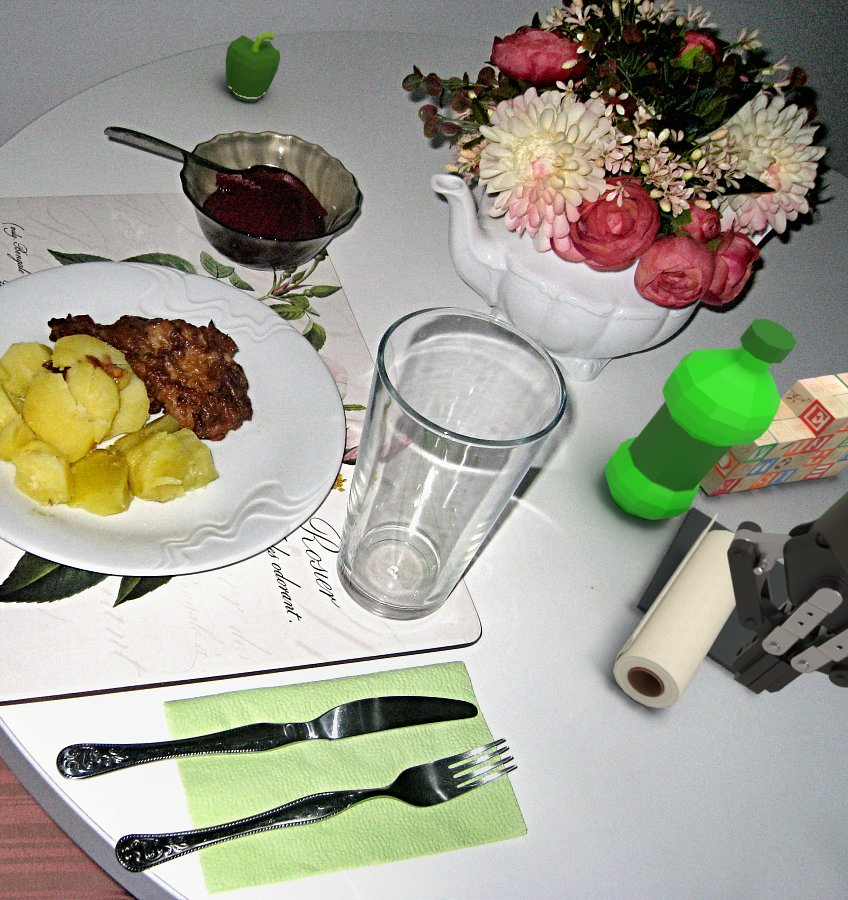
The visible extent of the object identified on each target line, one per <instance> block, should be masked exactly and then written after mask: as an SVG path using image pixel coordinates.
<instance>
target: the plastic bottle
mask: <svg viewBox="0 0 848 900" xmlns="http://www.w3.org/2000/svg"><path fill="white" fill-rule="evenodd" d="M739 341H740V346H739V347H738V348H733V347H732V348H713V349H711V348H710V349H695V350H693V351H690V352H689V353H687V354H686V355H683V356H682V358H681V359H680V361H679V362H678V363H677V364H676V366H675V367H674V369H673V370H672V372H671V373H670V374H669V376H668V377H667V379H665V382H664V385H663V387H662V390H661V392H662V395H663V398H664V402H663V403H662V405H661V406H659V408H658V410H657V411H656V412H655V414H654V415H653V416H652V417H651V418H650V420H649V421H648V423H646V425H645V426H644V427H643V429H642V430H641V431H640V432H639V434H638V435H637V436H634V437H632V438H629V439H626V440H624V441H623V442H621V443H620V444H619V445H618V446H617V448H616V449H615V451H613V454H612V455H611V456H610V457H609V459H608V461H607V462H606V463H605V469H604V474H605V478H606V482H607V485H608V488H609V491H610V495H611V496H612V497H613V500H614V502H615V503H616V504H617V505H618V506H619V507H620V508H621V509H622V510H623V511H624V512H625V513H627V514H630V515H632V516H635V517H637V518H641V519H647V520H650V521H654V520H662V519H672V518H676V517H679V516H681V515H684V514H685V513H686V512H687V511H688V510H689V508H691V506H692V504H693V502H694V500H695V499H696V497H697V495H698V493H699V490H700V487H701V485H700V483H701V480H702V479H703V478H704V477H705V476H706V475H707V474H708V473H709V472H710V470H711V469H712V468H713V467H714V466H715V465H716V464H717V463H718V462H719V461H720V460H721V458H722V457H723V456H724V455H725V454H726V453H727V452H728V451H729V450H730V449H731V448H732V446H733V445H743V444H750V443H752V442H753V441H755V440H757V439H758V438H760V437H761V436H762V435H763V434H764V433H765V432H766V431H767V429H768V428H769V427H770V425H771V423H772V421H773V419H774V417H775V415H776V413H777V411H778V408H779V405H780V402H781V399H780V398H781V396H780V394H779V391H778V388H777V384H776V382H775V380H774V378H773V375H772V373H771V371H770V369H769V368H770V366H771V365H772V364H781V363H782V362H783V361H784V360H785V359H786V358H787V357H788V355H790V353H791V352H792V351H793V350H794V349H795V346H796V344H797V343H798V342H797V341H796V339H795V337H794V335H793V334H792V332H791V331H789V330H788V329H787V328H786V327H785V326H783V325H781V324H780V323H778V322H776V321H774V320H773V321H772V320H770V319H767V318H755V319H754V320H753V321H752V322H751V323H750V324H749V326H748V327H747V328H746V329H745V331H744V332H743V333H742V335H740V338H739Z"/></svg>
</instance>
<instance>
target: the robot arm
mask: <svg viewBox="0 0 848 900" xmlns="http://www.w3.org/2000/svg"><path fill="white" fill-rule="evenodd" d="M734 533H735V535H734V538H733V540H732V542H731V544H730V547H729V549H728V551H727V557H728V563H729V569H730V574H731V580H732V585H733V591H734V597H735V602H736V608H737V613H738V619H739V623H740V624H741V625H742V626H743V627H744V628H746V629H748V630H752V631H755V632H756V633H755V634H754V635H753V636H751V637H750V638H749V639H748V640H747V641H745V643H743V644H742V645H741V646H740V647H739V649H738V652H737V654H736V657H735V659H734V662H733V665H732V669H734V670H735V671H736V674H734V677H733V680H734V681H735V682H737V683H738V684H740V685H741V686H743V687H744V688H746V689H748V690H749V691H752V692H753V693H754V694H756V695H760V694H761V693H762V692H764V691H766V692H768V693H770V694H772V693H773V694H774V693H778V692H780V691H782V690H783V689H784V688H785V687H787V686H788V685H789V684H790V683H792V682H794V681H795V680H797V679H798V678H799V677H800V676H801V675H803V674H811V673H814V672H818V673H820V674H824V675H827V676H828V679H829V681H830V682H831V683H832V684H833V685H835V686H838V687H839V688H848V490H846V491H845V492H844V494H843V495H842V496H841V497H839V499H837V500H836V501H835V502H834V503H833V504H832V505H831V506H830V507H829V508H827V510H826V511H824V513H822V515H821V516H820V517H818V518H816V519H814V520H811V521H809V522H808V521H807V522H803V523H800V524H797V525H796V526H794V527H792V529H791V530H789V532H788V533H772V532H763V529H762V527H761V526H760V525H759V524H758V523H756V522H754V521H749V520H745V521H742V522H740V523H739V524H738V526H737V528H736V531H735V532H734ZM779 559H782V560H783V564H784V569H785V580H786V591H787V596H788V599H787V600H786V601H785V602H784V603H783V604H782V605H781V606H780V607H779V608H777V607H776V606H775V605H774V604H773V603H772V602H771V601H772V591H771V585H770V578H769V571H771V570H772V569H773V567H774V564H775V561H776V560H777V561H778V560H779Z"/></svg>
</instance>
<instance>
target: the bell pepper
mask: <svg viewBox="0 0 848 900" xmlns="http://www.w3.org/2000/svg"><path fill="white" fill-rule="evenodd" d="M274 39H275V34H274V33H272V32H262V33H261V34H259V35H258V36H257V37H256V38H255V40H252V39H251V38H249V37H248V36H246V35H243V34H242V35H241V36H239V37H238V38H236V39H235V40H232V41H231V42H230V43H229V45H228V47H227V49H226V55H225V80H226V81H225V82H226V86H227V85H228V86H230V87H232V89H230V88H228V91H229V92H231V93H233V95H234V97H236V98H237V100H240V101H244V102H249V103H255V102H257V101H259V100H260V99H261V98H262V97H264V95H263V93H264V92H266V93H268V91H269V89H270V87H271V85H272V83H273V81H274V79H275V76H276V74H277V72H278V69H279V65H280V62H281V54H280V50H279V49H276V48H275V47H274V45H273V43H272V42H271V41H273V40H274ZM228 86H227V87H228ZM267 90H268V91H267ZM233 91H234V92H235V93H237V94H238V95H242V96H246V97H259V96H261V95H262V96H261V97H260V98H257V99H246V98H243V97H240V96H238V95H236V94H235V93H234V92H233Z"/></svg>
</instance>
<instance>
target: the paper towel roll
mask: <svg viewBox="0 0 848 900" xmlns="http://www.w3.org/2000/svg"><path fill="white" fill-rule="evenodd" d="M718 516H719V512H716V513H715V515H714V517H713V518H712V521H711V522H710V524H709V525H708V527H707V528H706V529H704V530H703V531H702V533H701V534H700V536H699V537H698V538H697V540H696V541H695V543H694V544H693V546H692V547H691V549H690V550H689V552H688V553H687V555H686V556H685V557H684V559H683V560H682V562H681V563H680V565H679V566H678V568H677V569H676V571H675V572H674V573H673V575H672V576H671V578H670V579H669V581H668V582H667V584H666V585H665V587H664V588H663V590H662V591H661V592H660V594H659V595H658V597H657V598H656V600H655V601H654V603H653V604H652V606H651V607H650V608H649V610H648V611H647V613H645V614H644V615H643V617H642V618H641V620H640V621H639V623H638V625H637V626H636V627H635V629H634V630H633V631H632V633H631V635H630V636H629V637H628V639H627V640H626V642H625V643H624V645H623V646H622V648H621V649H620V650H619V652H618V653H617V657H616V659H615V662H614V667H613V670H612V671H613V675H614V678H615V681H616V683H617V684H618V685H619V687H620V688H621V689H622V691H623V692H624V693H625V694H627V695H628V696H629V697H630V698H631V699H633V701H636V702H638V703H640V704H642V705H644V706H647V707H650V708H656V709H667V708H671V707H673V706H674V705H675V704H677V703H678V702H679V701H680V700H681V698H682V697H683V695H684V693H685V691H686V690H687V688H688V686H689V685H690V683H691V681H692V680H693V678H694V676H695V675H696V673H697V671H698V669H699V668H700V666H701V664H702V663H703V661H704V660H705V658H706V656H707V655H706V654H707V653H708V651H709V649H710V648H711V646H712V644H713V643H714V641H715V639H716V638H717V636H718V634H719V633H720V631H721V629H722V627H723V626H724V624H725V622H726V621H727V619H728V617H729V616H730V614H731V612H732V611H733V609H734V607H735V606H736V602H735V597H734V591H733V585H732V580H731V574H730V569H729V563H728V557H727V551H728V549H729V547H730V544H731V542H732V540H733V538H734V535H735V533H736V532H733V531H732V532H733V533H732V532H729V531H724V530H714V531H711V532H708V530H709V529H710V527H711V526H712V524H713V523H714V521H716V520H717V518H718Z"/></svg>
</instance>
